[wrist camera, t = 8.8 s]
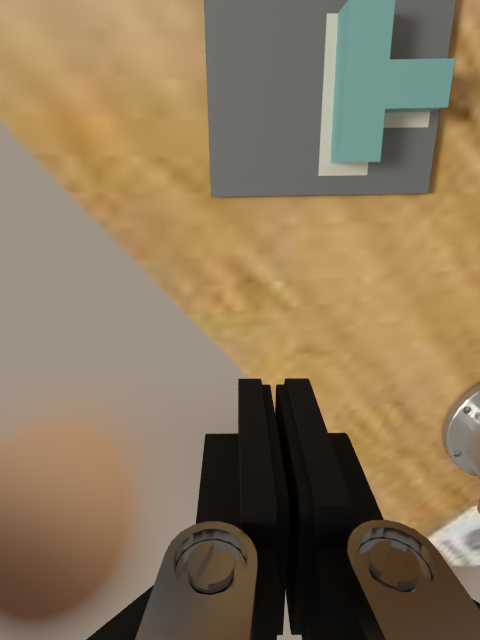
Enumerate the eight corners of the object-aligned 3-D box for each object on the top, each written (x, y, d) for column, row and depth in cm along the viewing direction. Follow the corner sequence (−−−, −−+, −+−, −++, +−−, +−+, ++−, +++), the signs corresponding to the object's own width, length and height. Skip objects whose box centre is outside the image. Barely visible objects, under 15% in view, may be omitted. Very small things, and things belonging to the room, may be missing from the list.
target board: (422, 192, 35) (427, 193, 34) (211, 195, 35) (211, 196, 34) (450, -8, 30) (457, -13, 29) (204, -7, 30) (203, -12, 29)
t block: (422, 159, 34) (440, 160, 31) (330, 162, 33) (339, 162, 31) (441, 11, 30) (463, -4, 27) (338, 13, 30) (349, -3, 27)
